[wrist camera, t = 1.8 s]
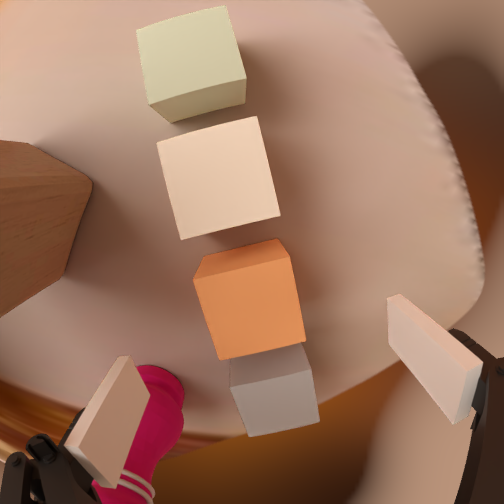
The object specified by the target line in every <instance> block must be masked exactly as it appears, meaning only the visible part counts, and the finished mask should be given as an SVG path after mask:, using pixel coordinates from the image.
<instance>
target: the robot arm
mask: <svg viewBox="0 0 504 504" xmlns="http://www.w3.org/2000/svg"><path fill="white" fill-rule="evenodd" d="M387 311H388V344H389V345H390V346H391V348H392V349H393V350H394V351H395V352H396V354H397V355H398V356H399V357H400V358H401V360H402V361H403V362H404V363H405V365H406V366H407V367H408V368H409V369H410V371H411V372H412V373H413V374H414V376H415V377H416V378H417V379H418V381H419V382H420V383H421V385H422V386H423V387H424V388H425V390H426V391H427V392H428V393H429V395H430V396H431V397H432V398H433V400H434V401H435V402H436V404H437V405H438V406H439V408H440V409H441V410H442V411H443V413H444V414H445V415H446V417H447V418H448V419H449V421H450V422H451V423H452V424H453V425H454V424H456V423H458V422H459V421H461V420H463V419H464V418H466V417H468V415H469V412H470V409H471V406H472V407H473V408H474V409H475V410H476V411H477V412H476V414H475V417H474V420H473V423H472V425H471V428H470V429H473V431H472V436H471V441H470V446H469V451H468V456H467V460H466V464H465V468H464V472H463V476H462V480H461V483H460V487H459V490H458V493H457V496H456V499H455V502H454V504H504V357H503V358H498V359H496V358H495V357H494V356H493V355H491V354H490V353H489V352H488V351H486V350H485V349H484V348H483V347H482V346H480V345H479V344H476V342H475V341H474V340H473V339H471V338H470V337H469V336H468V335H467V334H465V333H464V332H462V331H459V330H456V329H454V328H453V329H451V330H449V331H446V330H445V329H444V328H442V327H441V326H440V325H439V324H437V323H436V322H435V321H434V320H433V319H431V318H430V317H429V316H428V315H426V314H425V313H424V312H423V311H421V310H420V309H419V308H418V307H416V306H415V305H414V304H413V303H411V302H410V301H409V300H407V299H406V298H405V297H404V296H402V295H401V294H397V295H394V296H391V297H388V298H387ZM149 398H150V394H149V392H148V390H147V388H146V386H145V384H144V382H143V380H142V378H141V376H140V374H139V372H138V370H137V368H136V366H135V364H134V362H133V360H132V358H131V356H130V355H127V356H119V357H118V358H117V359H116V361H115V362H114V364H113V365H112V367H111V368H110V370H109V372H108V373H107V375H106V376H105V378H104V379H103V381H102V383H101V384H100V386H99V387H98V389H97V390H96V392H95V394H94V395H93V397H92V399H91V400H90V402H89V403H88V405H87V407H86V408H83V409H82V410H81V411H80V412H79V413H78V414H77V415H76V416H75V418H74V420H73V421H72V422H73V423H71V425H70V426H69V429H67V431H66V433H65V434H64V436H63V438H62V440H61V441H60V443H59V445H58V446H56V445H55V444H54V442H53V441H52V440H51V438H50V437H49V436H48V435H46V434H38V435H35V436H33V437H32V438H31V439H30V440H29V441H28V442H27V444H26V450H27V451H28V452H29V453H30V455H31V456H32V457H33V458H34V459H30V460H29V459H28V457H27V456H26V455H25V454H24V453H22V452H15V453H12V454H11V455H10V456H9V457H8V458H7V460H6V463H5V469H4V474H3V479H2V485H1V492H0V504H102V502H101V500H100V498H99V495H98V493H97V491H96V489H95V488H94V487H93V485H92V482H93V479H94V480H95V481H96V482H97V483H98V484H99V485H100V486H101V487H107V488H114V489H116V487H117V484H118V481H119V478H120V475H121V473H122V470H123V467H124V464H125V461H126V459H127V456H128V453H129V450H130V448H131V445H132V442H133V439H134V437H135V434H136V431H137V429H138V426H139V423H140V421H141V418H142V416H143V413H144V410H145V408H146V405H147V403H148V400H149ZM30 493H32V494H33V495H34V500H32V499H31V497H30Z"/></svg>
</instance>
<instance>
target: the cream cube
mask: <svg viewBox="0 0 504 504" xmlns="http://www.w3.org/2000/svg"><path fill="white" fill-rule="evenodd" d="M156 143H157V148H158V152H159V157H160V161H161V165H162V169H163V174H164V178H165V182H166V186H167V190H168V194H169V198H170V202H171V206H172V209H173V213H174V217H175V221H176V224H177V228H178V232H179V235H180V239H181V240H183V239H187V238H191V237H195V236H199V235H203V234H207V233H211V232H215V231H219V230H223V229H227V228H231V227H235V226H239V225H244V224H248V223H252V222H256V221H260V220H264V219H269V218H273V217H277V216H281V215H280V211H279V206H278V202H277V197H276V193H275V189H274V184H273V180H272V176H271V172H270V167H269V163H268V159H267V155H266V151H265V147H264V143H263V139H262V135H261V131H260V127H259V123H258V119H257V116H254V117H249V118H245V119H240V120H236V121H232V122H227V123H223V124H219V125H215V126H211V127H207V128H204V129H200V130H196V131H193V132H189V133H186V134H182V135H179V136H176V137H172V138H169V139H166V140H163V141H159V142H156Z"/></svg>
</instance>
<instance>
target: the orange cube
mask: <svg viewBox="0 0 504 504" xmlns="http://www.w3.org/2000/svg"><path fill="white" fill-rule="evenodd" d="M193 282H194V285H195V289H196V292H197V295H198V298H199V301H200V304H201V307H202V311H203V314H204V317H205V320H206V323H207V326H208V329H209V332H210V335H211V337H212V340H213V343H214V346H215V349H216V352H217V355H218V357H219V360H225V359H230V358H235V357H240V356H245V355H250V354H254V353H259V352H263V351H268V350H272V349H276V348H280V347H285V346H289V345H293V344H297V343H300V342H304V341H306V336H305V331H304V325H303V320H302V315H301V309H300V304H299V299H298V294H297V289H296V284H295V279H294V274H293V269H292V265H291V260H290V256H289V255H288V253H287V252H286V250H285V249H284V247H283V246H282V244H281V243H280V241H279V240H278V238H277V239H273V240H268V241H264V242H260V243H256V244H252V245H248V246H244V247H239V248H235V249H231V250H227V251H223V252H219V253H215V254H211V255H206V256H204V257H203V259H202V261H201V263H200V265H199V268H198V270H197V272H196V274H195V276H194V278H193Z"/></svg>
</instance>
